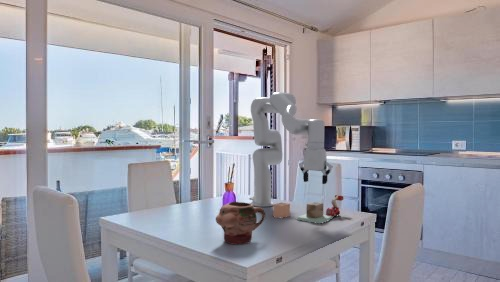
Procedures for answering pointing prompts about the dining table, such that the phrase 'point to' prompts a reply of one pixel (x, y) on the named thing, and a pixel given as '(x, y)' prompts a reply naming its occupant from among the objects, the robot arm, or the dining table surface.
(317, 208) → the walnut brick
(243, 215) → the brown sculpted mug
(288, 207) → the terracotta brick
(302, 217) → the board
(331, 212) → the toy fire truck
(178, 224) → the dining table surface
